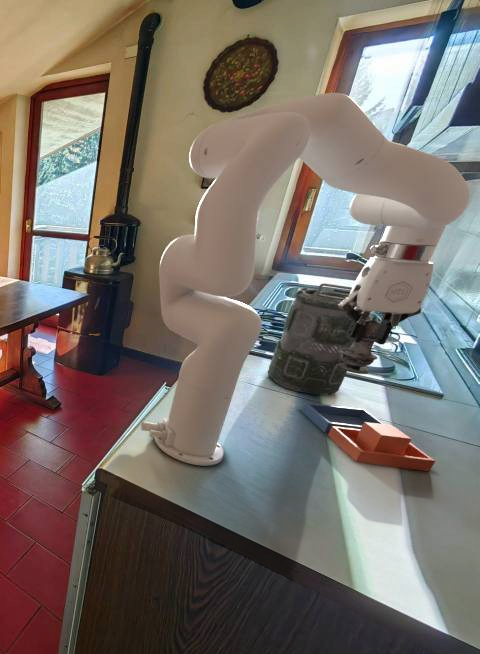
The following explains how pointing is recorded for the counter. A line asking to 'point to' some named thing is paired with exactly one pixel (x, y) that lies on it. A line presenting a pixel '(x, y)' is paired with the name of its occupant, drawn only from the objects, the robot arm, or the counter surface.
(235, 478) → the counter surface
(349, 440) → the terracotta tray
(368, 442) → the terracotta block
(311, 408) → the blue tray
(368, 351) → the dark chess piece
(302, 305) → the canister
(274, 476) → the counter surface
